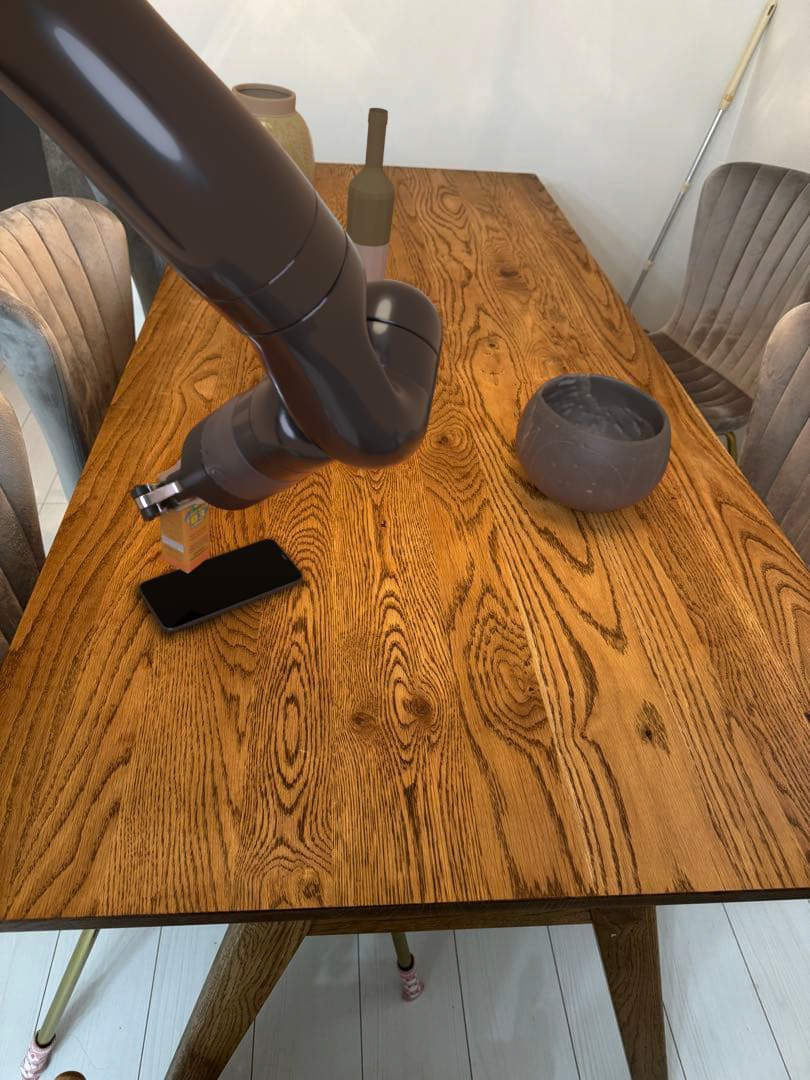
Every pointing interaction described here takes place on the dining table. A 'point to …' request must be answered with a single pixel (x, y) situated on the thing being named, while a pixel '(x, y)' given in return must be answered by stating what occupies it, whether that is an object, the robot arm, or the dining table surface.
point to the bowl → (593, 442)
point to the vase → (281, 121)
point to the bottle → (372, 201)
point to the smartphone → (219, 585)
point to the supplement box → (185, 536)
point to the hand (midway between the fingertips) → (171, 497)
